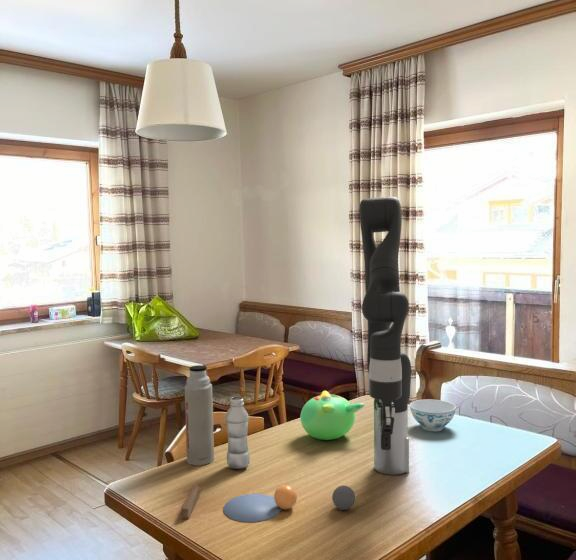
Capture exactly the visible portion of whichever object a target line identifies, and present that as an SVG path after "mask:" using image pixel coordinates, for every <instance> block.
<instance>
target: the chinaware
mask: <svg viewBox="0 0 576 560" xmlns="http://www.w3.org/2000/svg"><path fill="white" fill-rule="evenodd" d="M409 409H410V411H411V412H410V413H411V415H412V417H413V419H414V420H415V421H416V423H418V424H419V425H421V427H422V429H423V430H424V431H428V432H440V431H443V429H444V427H446V426H447V425H448V424H450V422H451V421H452V420H453V418H454V416H455V413H456V409H457V407H456V405H455V404H454V403H452V402H449V401H446V400H440V399H429V398H427V399H417V400H413V401H412V402H410V404H409Z"/></svg>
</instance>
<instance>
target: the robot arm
mask: <svg viewBox="0 0 576 560" xmlns="http://www.w3.org/2000/svg"><path fill="white" fill-rule="evenodd" d="M358 211H359V224H360V233H361V239H362V240H361V241H362V242H361V243H362V249H363V260H364V287H365V295H364V297H363V299H362V300H363V301H362V305H361V313H362V315H363V317H364V318H365V320H367V353H366V358H367V359H366V360H367V361H366V366H367V372H368V382H369V383H368V384H369V386H368V389H369V391H368V392H369V393H368V394H369V396H370V397H371V398H372V399H373V463H374V470H376V472H378V473H381V474H384V475H390V476H391V475H392V476H393V475H401V474H405V473H410V439H409V436H408V434H409V432H408V427H409V426H408V425H409V424H408V421H409V420H408V419H409V417H408V414H409V413H408V407H409V404H408V403H409V400H410V397H411V380H412V364H411V360H410V358H409V356H408V355H407V354H406V353H404V352H401V349H402V348H401V343H402V334H403V329H404V325H405V322H406V319H407V315H408V311H409V306H410V305H409V299H408V297H407V296H406V294H405V293H403V292H401V291H400V290H401V289H400V272H399V271H400V270H399V255H400V254H399V253H400V246H401V236H402V223H403V222H402V221H403V218H402V217H403V215H402V205H401V202H400V200H399V198H397V197H396V196H385V197H384V196H383V197H381V196H380V197H372V198H364V199H363V198H362V200H361V201H360V203H359V210H358ZM374 233H387V234H386V235H385V237H384V238H383V239H382V241H381V242H380V244H378V245H377V243H376V240H375V238H374Z"/></svg>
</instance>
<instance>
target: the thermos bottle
mask: <svg viewBox="0 0 576 560" xmlns="http://www.w3.org/2000/svg"><path fill="white" fill-rule="evenodd" d="M207 367H208V366H206V365H200V364H198V365H192V366H190V367H189V376H188V377H187V378H186V385H184V404H185V405H184V406H185V407H184V408H185V411H184V414H185V439H186V440H185V444H186V463H188V464H189V463H190V464H189V465H191V464H193V465H192V466H206V465H209V464H211V463H213V462H214V460H215V442H214V441H215V440H214V406H213V403H214V401H213V398H214V397H213V384H212V383H211V379H210V377H209V376H208V374H207V370H208V369H207ZM208 463H209V464H208ZM205 464H206V465H205Z"/></svg>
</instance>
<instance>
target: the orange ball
mask: <svg viewBox="0 0 576 560" xmlns="http://www.w3.org/2000/svg"><path fill="white" fill-rule="evenodd" d="M273 494H274V495H273V497H274V501H275V503H276V505H277V506H278V507H279V508H281V510H290V509H291V508H293V507H294V506H295V505H296V503H297V499H298V497H297V492H296V490H295V488H293V486H291V485H289V484H288V485H287V484H282V485H280V486H279V487H277V488H276V489H275V491H274V493H273Z"/></svg>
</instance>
